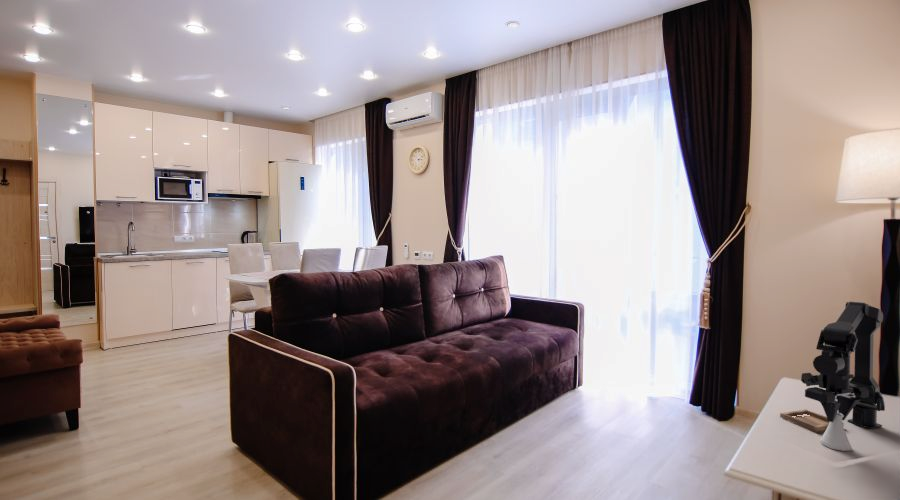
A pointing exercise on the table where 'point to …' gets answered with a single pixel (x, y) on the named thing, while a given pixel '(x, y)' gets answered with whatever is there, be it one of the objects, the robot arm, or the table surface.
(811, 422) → the tray
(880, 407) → the robot arm
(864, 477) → the table surface
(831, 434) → the flask
